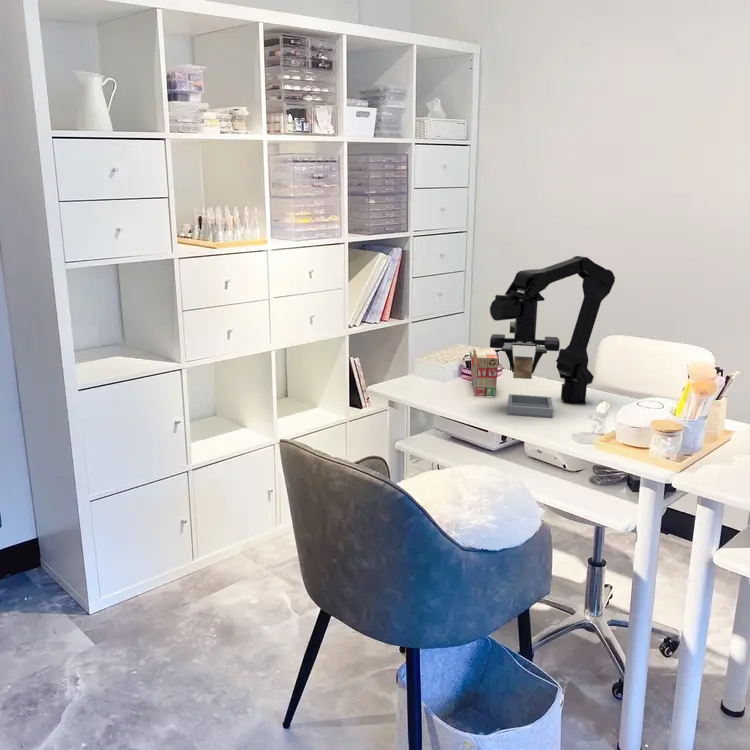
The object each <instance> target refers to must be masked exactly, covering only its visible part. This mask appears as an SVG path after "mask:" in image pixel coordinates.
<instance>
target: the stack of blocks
mask: <svg viewBox="0 0 750 750" xmlns="http://www.w3.org/2000/svg"><path fill="white" fill-rule="evenodd" d="M470 358H471V375H472V377H471V382H472V383H471V382H470V384H472V385H471V387H472V386H473V387H472V389H473V393H474V397H477V396H496V397H497V383H498V381H497V379H498V371H499V369H498V368H499V361H500V360H499V359H500V358H499V357H498V354H497V352H496V350H495V348H490V347H473V350H470V351H469V359H470Z"/></svg>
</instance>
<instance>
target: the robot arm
mask: <svg viewBox="0 0 750 750" xmlns="http://www.w3.org/2000/svg"><path fill="white" fill-rule="evenodd" d="M575 275H577V276H578V277H580V278H581V279H583V280H582V285H581V288H582V292H583V299H582V303H581V306H580V309H579V312H578V316H577V319H576V322H575V324H574V325H575V326H574V329H573V332H572V335H571V338H570V342H569V344H568V345H567V346H566V347H565V348H560V344H561V343H560V339H559V337H558V336H544V339H536V333H537V322H538V321H537V317H538V306H539V305H538V302H544V301H545V300H546V299H545V297H544V296H542V295H541V294H540V293H541V292H542V291H544V290H546V288H547V287H548V286H549V285H550V284H552V283H556V282H557V281H561V280H563V279H566V278H569V277H571V276H572V277H573V276H575ZM615 281H616V277H615V275H614V273H613V271H612V270H610V269H607V268H604V267H603V266H601V265H599V264H598V263H596V262H595V261H593V260H592V259H591V258H589V257H586V256H581V255H575V256H574V257H572V258H569V259H567V260H566V259H565V260H563V261H561V262H558V263H554V264H552V265H548V266H546V267H544V268H539V269H538V268H537V269H536V268H534V269H524V270H520V271H518V272H517V273H516V274H515V276H514V279H513V281H512V282H511V284H510V285H509V287H508V288H507V289H506V292H505V293H504V294H502V295H501V294H495V296H494V297H495V299H493V301H491V304H490V306H489V313H490V316H491V318H492V319H493V321H496V322H497V321H499V322H500V321H508V320H515V321H510V323H509V334H513V335H514V336H513V337H514V338H512V337H511V338H510V337H508V338H507V337H506V334H500V333H499V334H497V333H496V334H495V333H492V334H491V335H490V338H489V348H493V349H501V352H504V353H505V354H506V357H507V359H508V362H509V366H510V369H511V372H512V373H513V372H514V347H513V346H521V347H535V350H534V355H533V356H534V357H533V364H532V374H534V372H535V370H536V368H537V365H538V363H539V361H540V359H541V358H542V356H543V354H547V353H548V351H550V352H558V356H557V359H556V360H555V362H556V369H557V370H558V371H557V372H558V373H559V378H560V379H563V383H561V390H560V391H561V392H560V398H561V400H562V403H564V404H573V405H574V404H576V405H586V404H587V402H586V401H587V399H586V398H587V387H588V385H591V384H592V383H593V381H594V375H593V374H592V373H591V371H590V370H589V368H588V366H589V356H588V355H589V354H588V351H587V349H588V345H589V343H590V342H589V341H590V338H591V336H592V334H593V333H592V332H593V329H594V326H595V324H596V321H597V316H598V313H599V311H600V307H601V303H602V301H603V300H604V299H605V298H606V297H608V295H609V294H610V293H611V291H612V288H613V286H614V284H615Z"/></svg>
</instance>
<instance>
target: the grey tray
mask: <svg viewBox="0 0 750 750" xmlns="http://www.w3.org/2000/svg"><path fill="white" fill-rule="evenodd" d="M507 400H508V401H507V415H508V416H516V417H517V416H518V417H519V416H520V417H534V418H546V419H547V418H548V419H553V411H554V407H553V402H552V397H551V396H543V395H541V396H540V395H531V394H530V395H528V394H527V395H525V394H515V393H514V394H513V393H512V394H511V393H509V394H508V398H507Z"/></svg>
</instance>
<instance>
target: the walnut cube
mask: <svg viewBox="0 0 750 750" xmlns="http://www.w3.org/2000/svg"><path fill="white" fill-rule="evenodd" d="M513 359H514V372H512V373H513V374H512V375H513V376H512V377H513V379H524V380H525V379H526V380H532V377H533V373H532V365H533V360H534V357H533V356H519V355H518V356H517V355H515V356H514V355H513Z"/></svg>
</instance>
